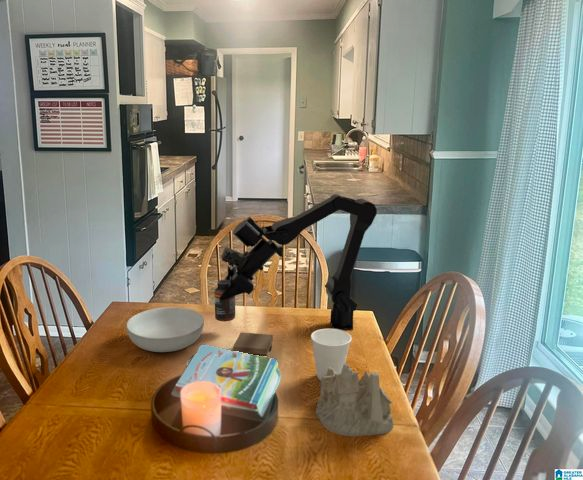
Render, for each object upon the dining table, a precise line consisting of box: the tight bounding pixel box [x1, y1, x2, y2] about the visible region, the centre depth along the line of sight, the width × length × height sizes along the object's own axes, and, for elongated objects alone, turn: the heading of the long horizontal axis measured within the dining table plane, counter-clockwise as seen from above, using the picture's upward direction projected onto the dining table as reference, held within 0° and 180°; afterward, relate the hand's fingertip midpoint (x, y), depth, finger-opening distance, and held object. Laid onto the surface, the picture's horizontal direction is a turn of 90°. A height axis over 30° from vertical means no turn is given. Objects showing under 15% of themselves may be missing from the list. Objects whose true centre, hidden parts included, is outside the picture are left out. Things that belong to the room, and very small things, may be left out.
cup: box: [310, 328, 353, 381], centre depth 128 cm, size 10×10×11 cm
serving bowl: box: [125, 306, 205, 353], centre depth 144 cm, size 21×21×7 cm
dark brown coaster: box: [232, 331, 274, 357], centre depth 140 cm, size 9×9×4 cm
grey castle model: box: [315, 362, 395, 437], centre depth 112 cm, size 16×16×15 cm
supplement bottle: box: [213, 279, 236, 322], centre depth 151 cm, size 6×6×11 cm
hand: (220, 295), depth 150 cm, fingers closed on supplement bottle, 6 cm apart
